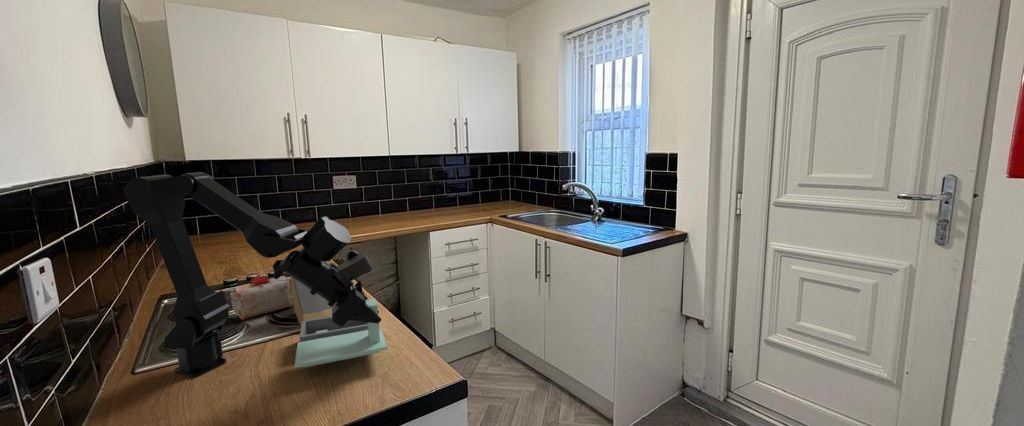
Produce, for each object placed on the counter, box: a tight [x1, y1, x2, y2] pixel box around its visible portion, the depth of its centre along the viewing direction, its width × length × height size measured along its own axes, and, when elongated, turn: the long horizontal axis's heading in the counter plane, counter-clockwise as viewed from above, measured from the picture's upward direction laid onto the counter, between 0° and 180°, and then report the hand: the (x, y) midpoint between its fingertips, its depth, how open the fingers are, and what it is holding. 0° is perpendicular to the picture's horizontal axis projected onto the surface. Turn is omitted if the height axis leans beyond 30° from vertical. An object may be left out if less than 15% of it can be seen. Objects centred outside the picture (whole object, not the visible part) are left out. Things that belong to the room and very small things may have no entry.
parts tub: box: [299, 316, 368, 342], centre depth 97 cm, size 16×9×4 cm, turn 113°
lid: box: [294, 297, 388, 369], centre depth 86 cm, size 17×10×10 cm, turn 113°
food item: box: [229, 274, 294, 321], centre depth 114 cm, size 14×8×10 cm, turn 132°
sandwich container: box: [289, 275, 337, 326], centre depth 108 cm, size 9×15×15 cm, turn 37°
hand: (378, 317), depth 89 cm, fingers closed on lid, 4 cm apart
